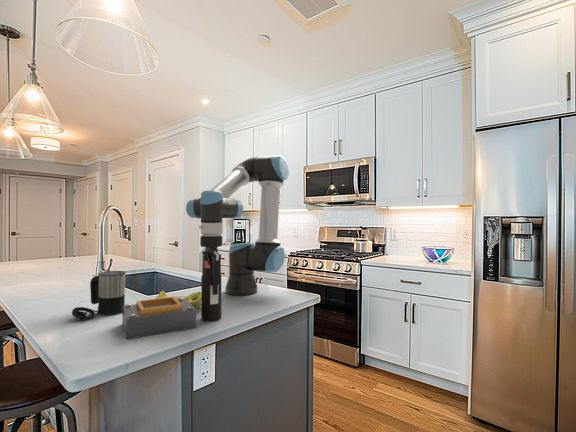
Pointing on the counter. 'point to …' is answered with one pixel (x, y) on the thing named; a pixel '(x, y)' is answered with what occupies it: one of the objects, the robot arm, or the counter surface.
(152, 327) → the gray fixture block
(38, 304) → the counter surface
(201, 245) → the robot arm
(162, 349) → the counter surface
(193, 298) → the yellow-green irregular piece
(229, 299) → the counter surface
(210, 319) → the vinegar
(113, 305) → the milk frother
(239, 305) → the counter surface
